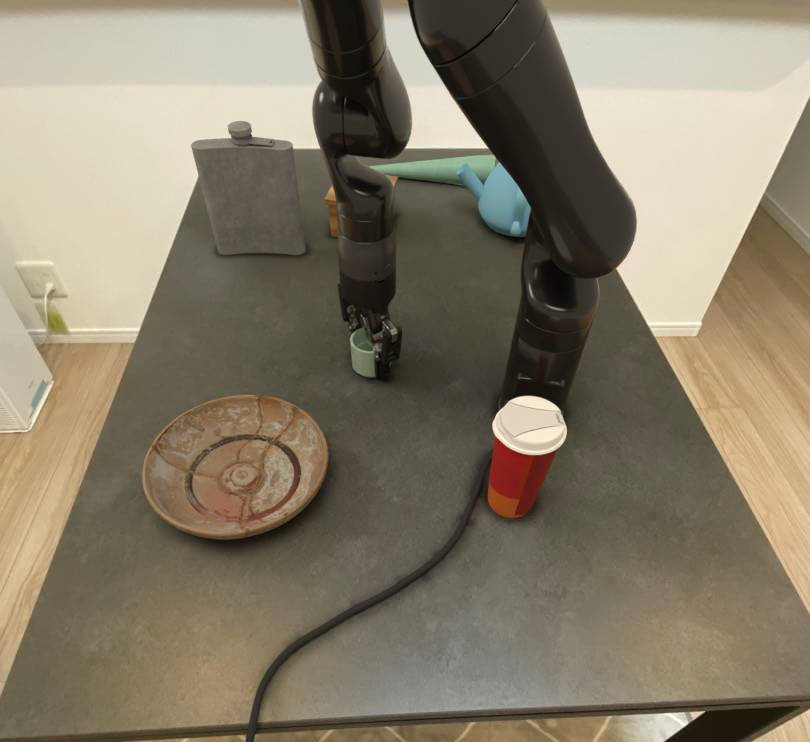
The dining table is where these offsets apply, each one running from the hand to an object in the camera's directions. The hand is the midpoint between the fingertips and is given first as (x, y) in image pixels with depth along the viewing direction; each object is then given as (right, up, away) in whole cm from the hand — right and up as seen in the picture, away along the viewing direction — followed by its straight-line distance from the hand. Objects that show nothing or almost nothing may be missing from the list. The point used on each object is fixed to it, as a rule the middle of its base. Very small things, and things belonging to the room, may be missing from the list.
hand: (371, 363), depth 92 cm
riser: (-3, +33, +22) cm, 40 cm away
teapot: (+24, +34, +24) cm, 48 cm away
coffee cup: (+19, -22, -13) cm, 32 cm away
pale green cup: (0, 0, +1) cm, 1 cm away
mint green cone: (+10, +48, +32) cm, 58 cm away
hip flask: (-21, +26, +17) cm, 38 cm away
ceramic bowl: (-16, -20, -12) cm, 28 cm away
